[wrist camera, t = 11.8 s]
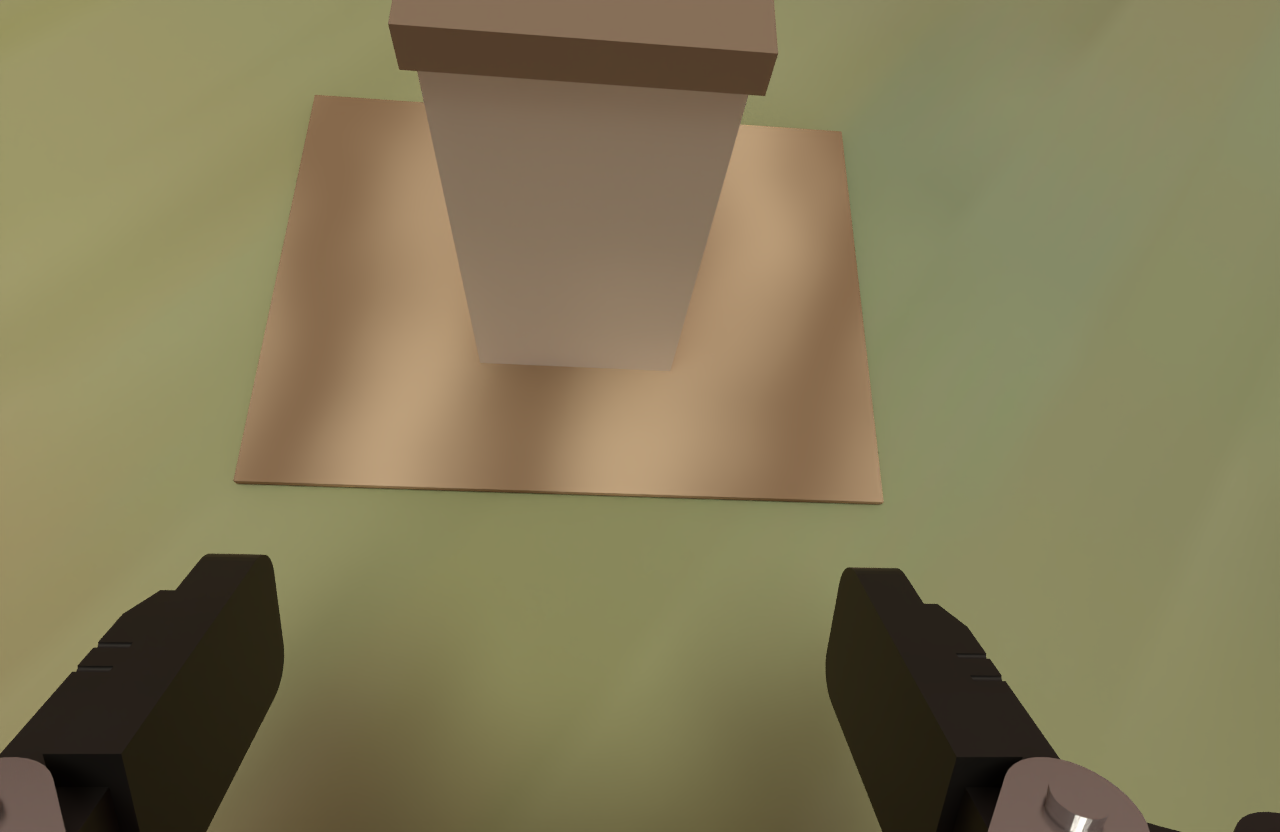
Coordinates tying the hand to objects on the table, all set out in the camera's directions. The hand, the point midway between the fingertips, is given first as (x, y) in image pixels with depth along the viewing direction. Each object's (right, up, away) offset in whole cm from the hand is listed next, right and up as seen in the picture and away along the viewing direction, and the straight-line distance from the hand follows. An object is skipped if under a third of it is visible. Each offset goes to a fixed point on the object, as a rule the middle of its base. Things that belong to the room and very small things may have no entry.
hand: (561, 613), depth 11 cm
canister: (-1, +6, +11) cm, 12 cm away
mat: (-1, +6, +11) cm, 13 cm away
